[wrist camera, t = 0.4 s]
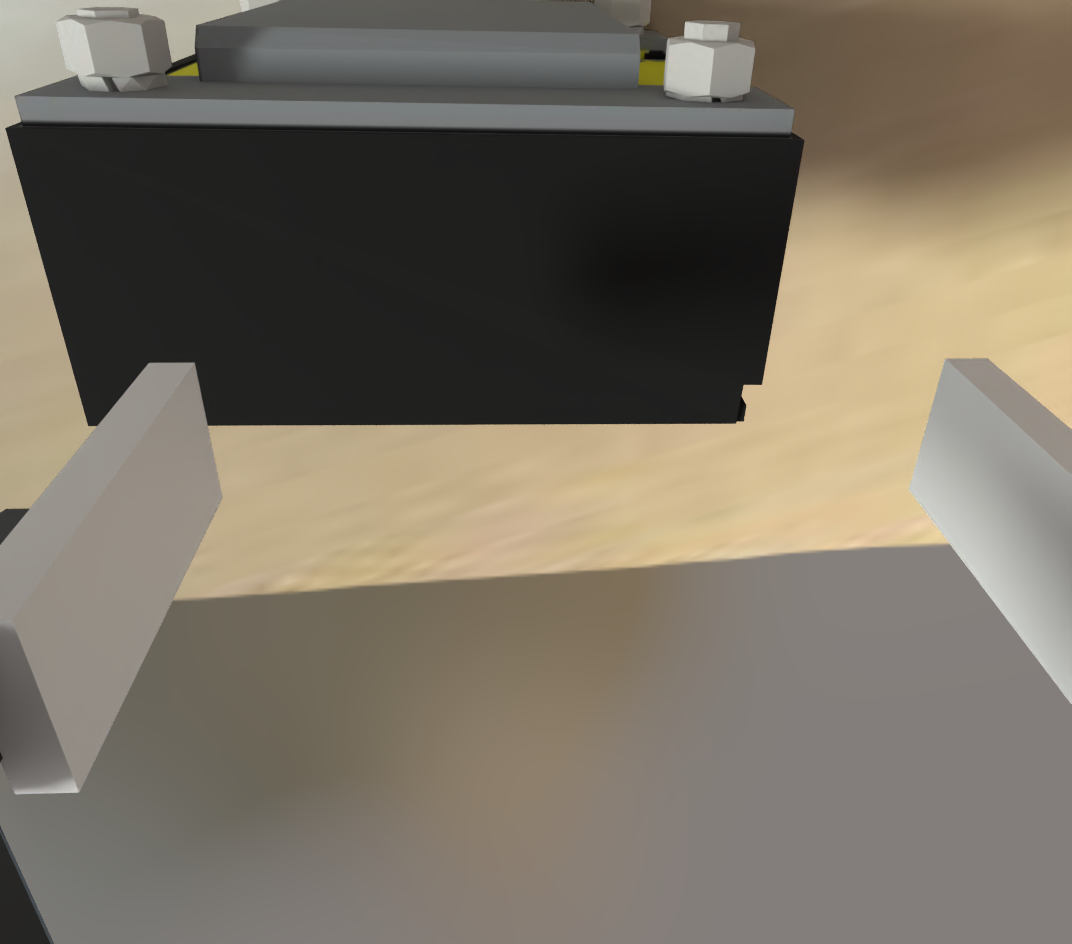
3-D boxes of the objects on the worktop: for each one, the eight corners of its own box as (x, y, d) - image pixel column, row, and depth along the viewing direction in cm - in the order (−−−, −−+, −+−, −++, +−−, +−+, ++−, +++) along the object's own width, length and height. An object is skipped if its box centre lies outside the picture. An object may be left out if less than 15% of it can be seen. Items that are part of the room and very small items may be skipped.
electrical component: (665, -14, 36) (823, 32, 19) (644, 235, 41) (751, 447, 24) (228, -24, 35) (-27, 13, 18) (263, 231, 40) (94, 448, 23)
